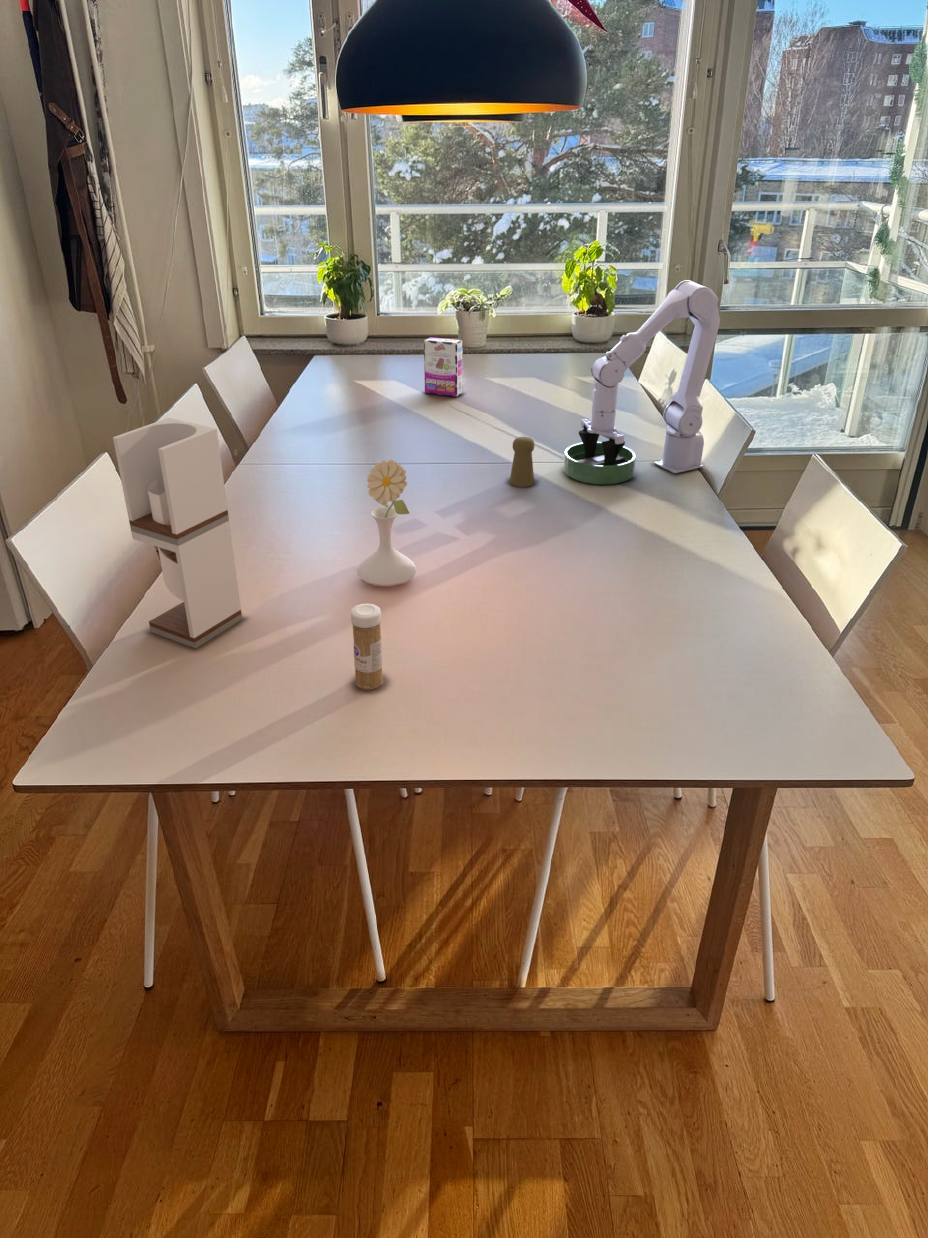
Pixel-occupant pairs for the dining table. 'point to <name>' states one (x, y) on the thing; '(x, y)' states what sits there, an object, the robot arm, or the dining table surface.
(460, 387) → the candy bar box
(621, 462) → the remote
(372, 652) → the sprinkles bottle
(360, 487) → the dining table surface
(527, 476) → the cork
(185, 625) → the white tiered shelf stand
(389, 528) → the flower in vase
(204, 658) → the dining table surface
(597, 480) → the bowl
